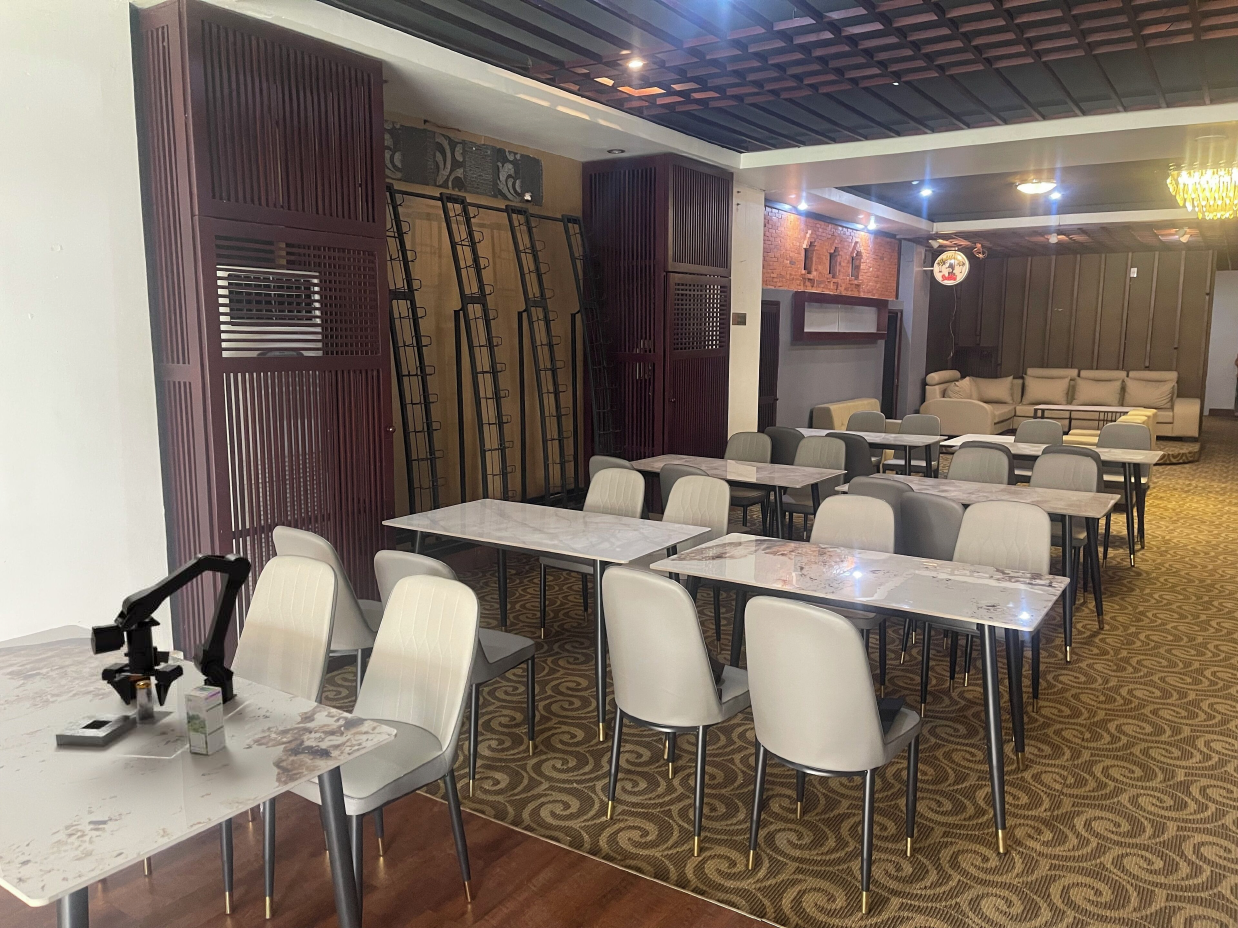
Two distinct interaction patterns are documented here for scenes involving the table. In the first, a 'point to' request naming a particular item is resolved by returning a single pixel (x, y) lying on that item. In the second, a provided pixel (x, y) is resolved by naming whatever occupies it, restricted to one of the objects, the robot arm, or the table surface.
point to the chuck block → (96, 730)
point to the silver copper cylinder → (144, 700)
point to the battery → (133, 681)
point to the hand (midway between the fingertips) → (145, 705)
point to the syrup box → (205, 720)
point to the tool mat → (157, 717)
